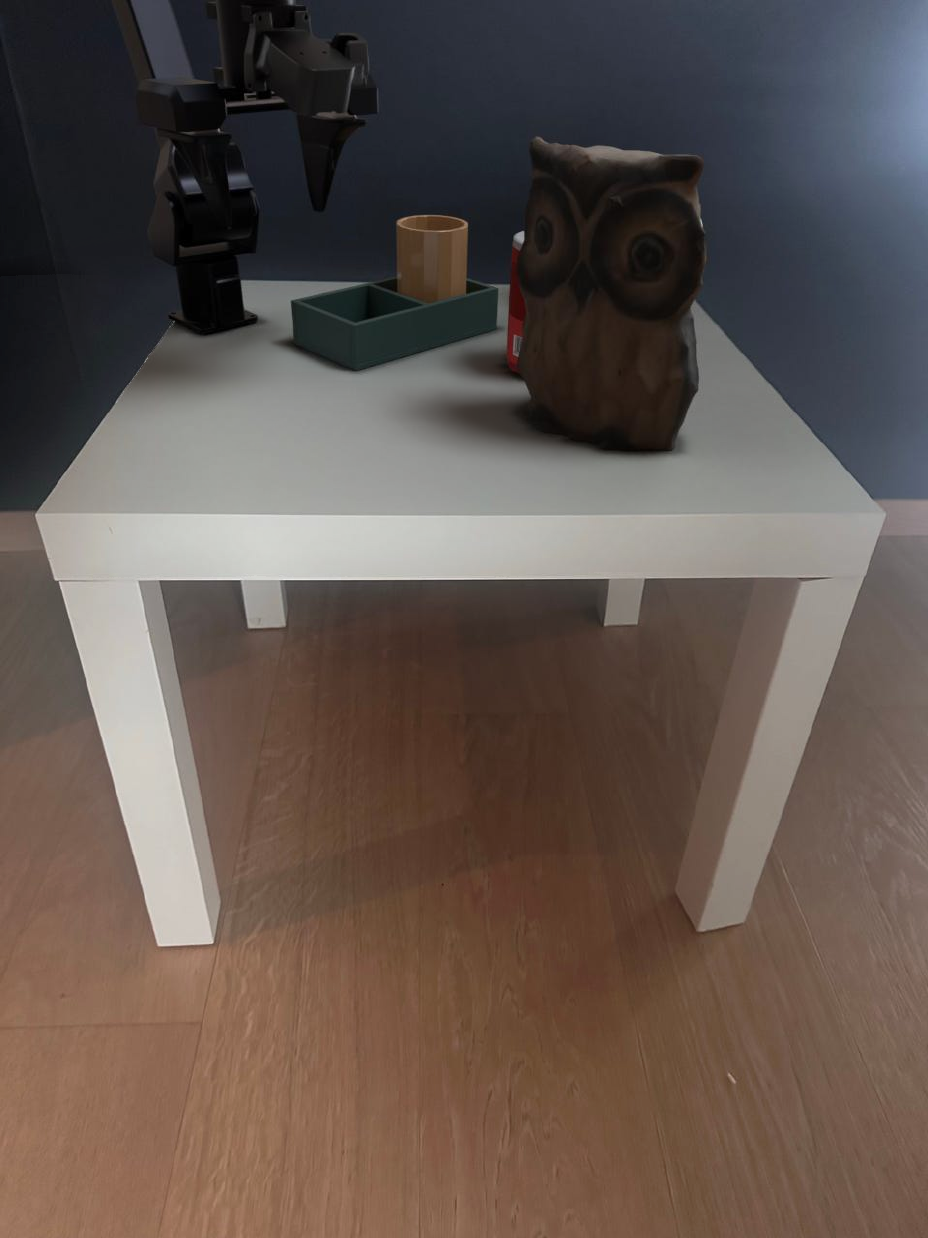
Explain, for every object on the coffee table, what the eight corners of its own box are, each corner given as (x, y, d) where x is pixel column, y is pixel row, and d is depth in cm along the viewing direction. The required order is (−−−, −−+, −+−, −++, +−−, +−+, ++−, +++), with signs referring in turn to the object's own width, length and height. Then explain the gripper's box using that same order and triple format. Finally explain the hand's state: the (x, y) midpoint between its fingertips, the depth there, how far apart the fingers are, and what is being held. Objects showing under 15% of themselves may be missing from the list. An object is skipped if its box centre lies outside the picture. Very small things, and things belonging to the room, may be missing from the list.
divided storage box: (293, 343, 86) (290, 300, 84) (433, 306, 96) (433, 267, 94) (355, 370, 81) (354, 325, 78) (496, 329, 91) (498, 287, 89)
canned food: (598, 384, 80) (614, 251, 73) (506, 381, 80) (514, 248, 73) (589, 353, 86) (603, 228, 80) (504, 350, 86) (511, 225, 80)
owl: (691, 457, 68) (747, 160, 57) (523, 459, 67) (545, 157, 56) (648, 392, 79) (688, 129, 67) (502, 393, 77) (516, 126, 66)
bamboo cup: (384, 318, 91) (382, 221, 85) (433, 305, 94) (434, 211, 89) (429, 335, 87) (430, 234, 82) (479, 321, 91) (482, 224, 85)
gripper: (205, -10, 56) (235, 258, 65) (426, -8, 67) (425, 220, 76) (112, -17, 62) (151, 229, 71) (328, -14, 73) (338, 198, 82)
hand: (274, 219), depth 75 cm, fingers open, 9 cm apart
